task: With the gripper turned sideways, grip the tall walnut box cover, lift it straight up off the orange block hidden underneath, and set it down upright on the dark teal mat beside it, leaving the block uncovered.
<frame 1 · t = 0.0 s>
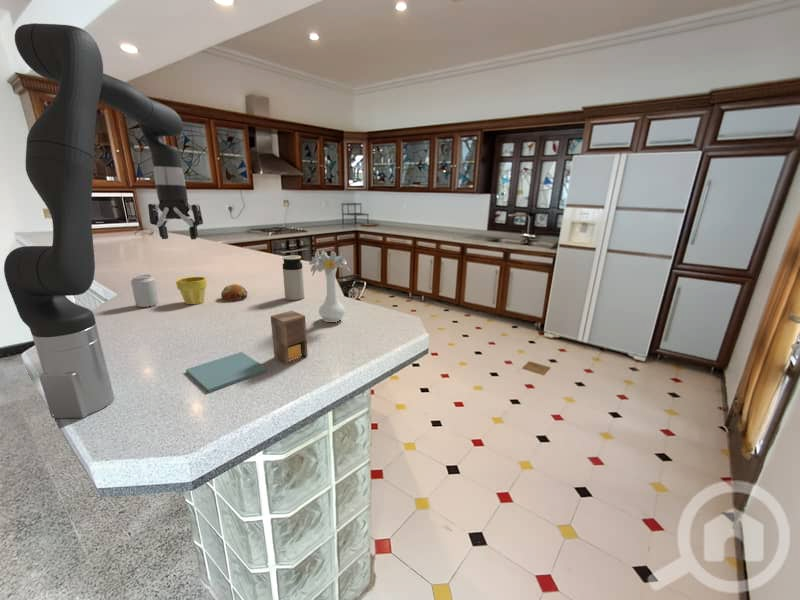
hand: (179, 239, 108), 29 cm above the counter, tool pointing down, fingers open, 8 cm apart
teal mat: (227, 371, 88), on the counter
orange block: (291, 357, 97), on the counter
flower vase: (330, 320, 126), on the counter
can: (148, 306, 138), on the counter
bread roll: (235, 299, 150), on the counter
walnut cover: (291, 356, 97), on the counter
travel mug: (294, 298, 151), on the counter
plant pot: (194, 303, 143), on the counter
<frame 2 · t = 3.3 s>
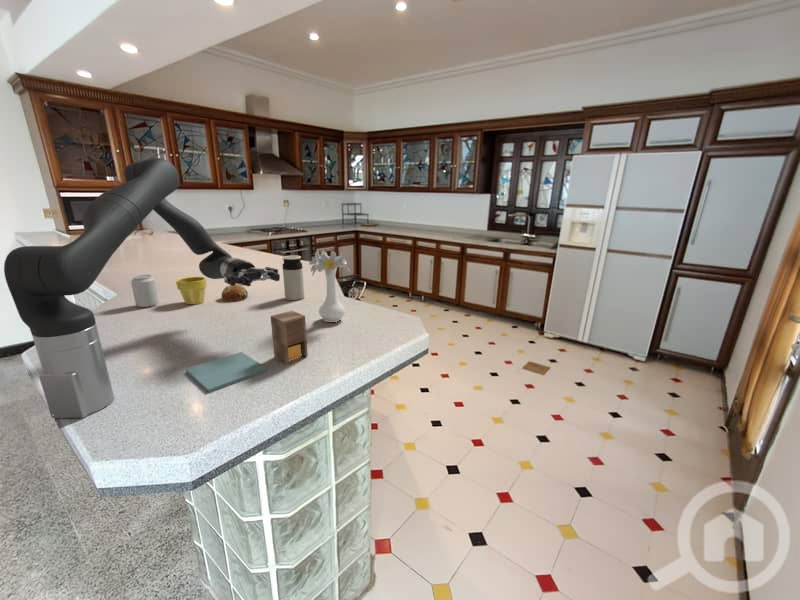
hand: (264, 279, 98), 20 cm above the counter, tool horizontal, fingers open, 8 cm apart
nothing on the counter moved.
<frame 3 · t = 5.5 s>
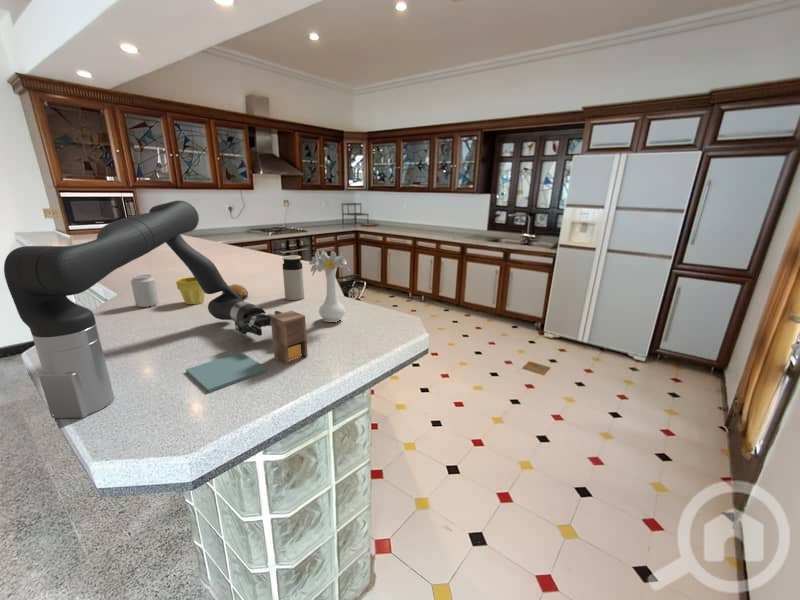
hand: (274, 328, 99), 6 cm above the counter, tool horizontal, fingers open, 8 cm apart
nothing on the counter moved.
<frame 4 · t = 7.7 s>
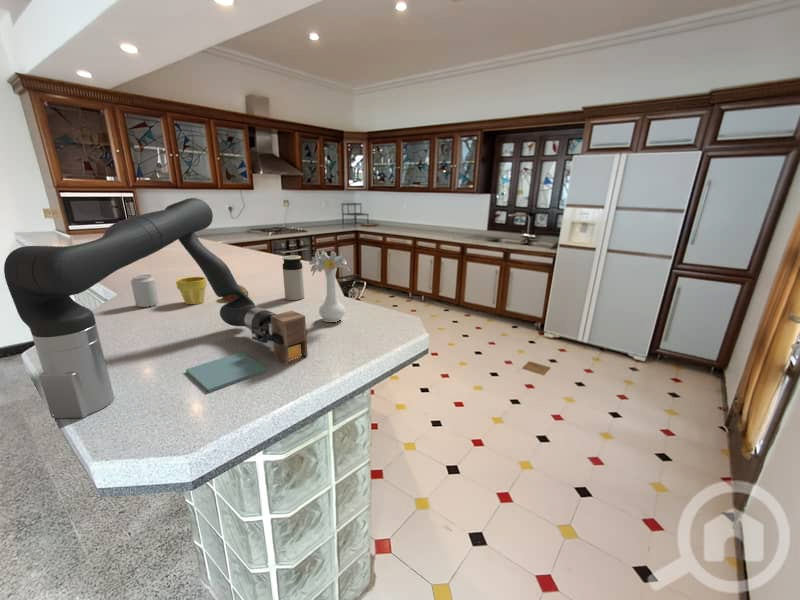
hand: (294, 337, 93), 7 cm above the counter, tool horizontal, fingers closed on walnut cover, 6 cm apart
walnut cover: (291, 356, 97), on the counter, touching gripper
everything else where it was.
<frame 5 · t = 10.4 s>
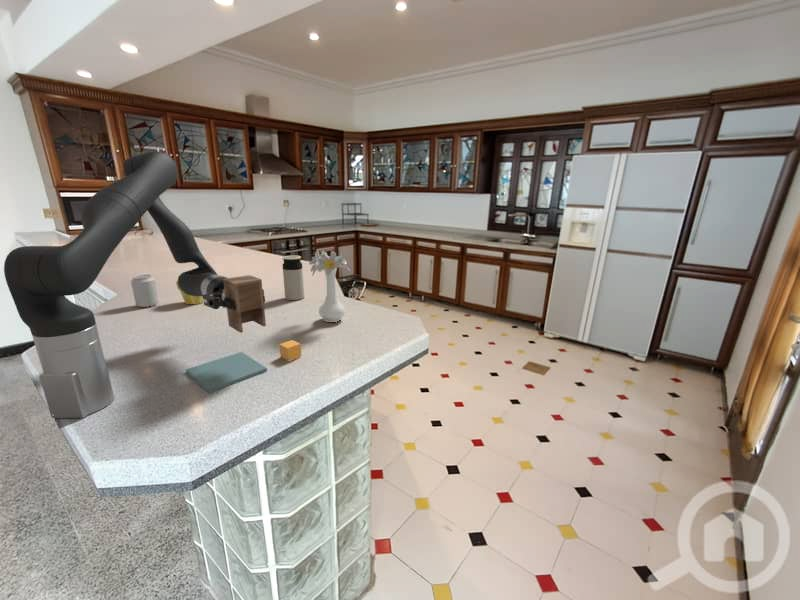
hand: (249, 302, 84), 18 cm above the counter, tool horizontal, fingers closed on walnut cover, 6 cm apart
walnut cover: (247, 325, 87), point 11 cm above the counter, touching gripper
everything else where it was.
when the fingers open (9 cm above the counter, at t = 13.3 s): walnut cover drops 1 cm, resting on teal mat.
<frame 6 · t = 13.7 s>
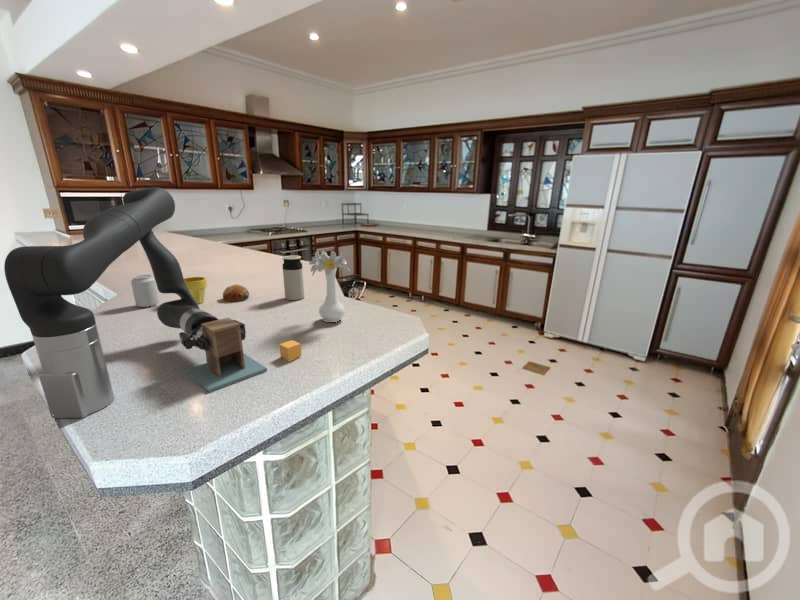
hand: (225, 341, 84), 9 cm above the counter, tool horizontal, fingers open, 8 cm apart
walnut cover: (226, 368, 88), point 1 cm above the counter, touching teal mat
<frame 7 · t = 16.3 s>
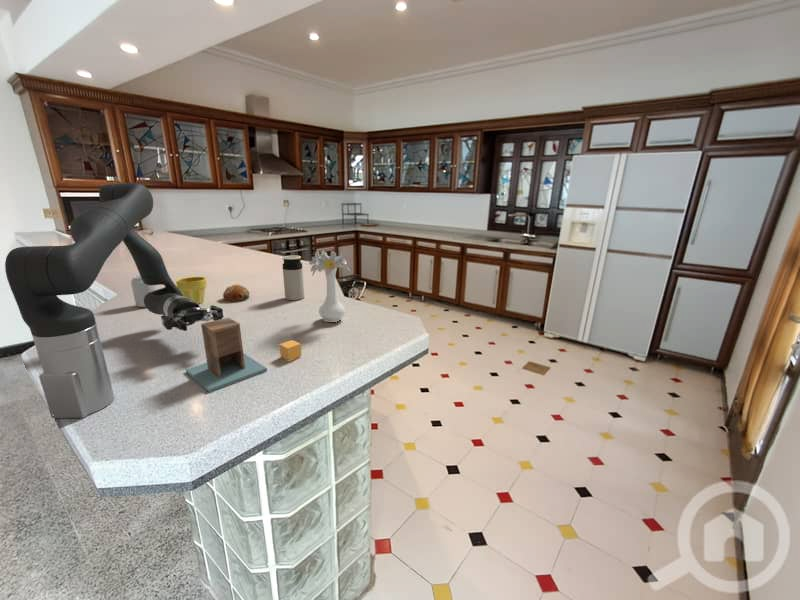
hand: (203, 323, 92), 10 cm above the counter, tool horizontal, fingers open, 8 cm apart
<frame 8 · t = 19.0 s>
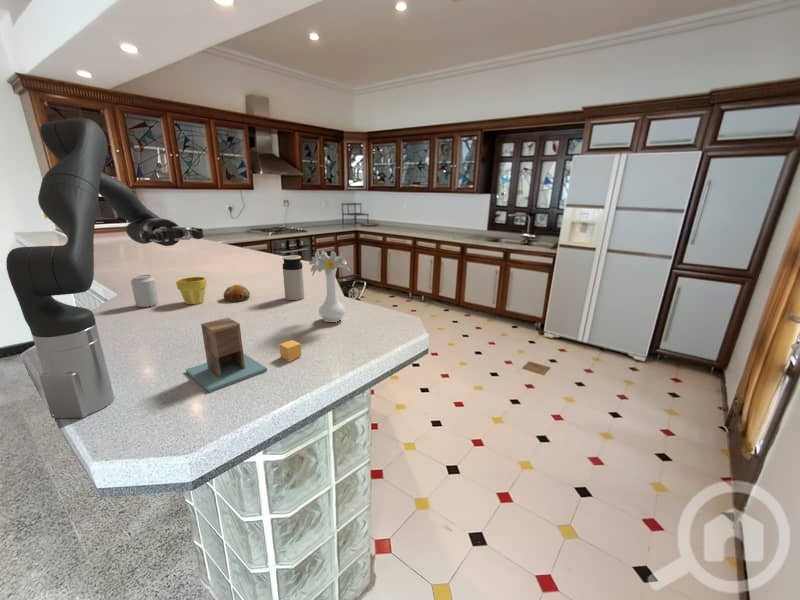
hand: (181, 236, 92), 32 cm above the counter, tool horizontal, fingers open, 8 cm apart
at the end: walnut cover 0.1 cm off-centre on the teal mat, point 0.8 cm above the teal mat's base; walnut cover tilted 0°; orange block moved 0.1 cm from its start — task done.
